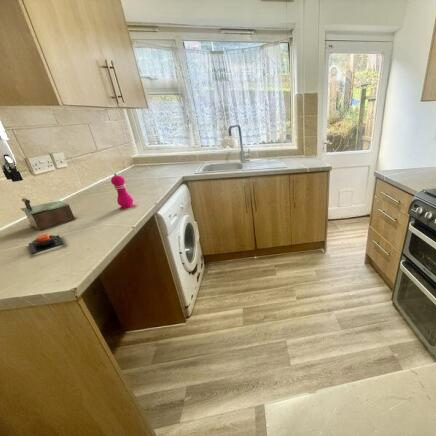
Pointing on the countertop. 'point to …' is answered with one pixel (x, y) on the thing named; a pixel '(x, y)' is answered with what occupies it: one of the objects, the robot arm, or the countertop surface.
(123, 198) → the pepper mill
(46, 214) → the brown open box
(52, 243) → the lock base
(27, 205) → the frame lid
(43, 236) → the lock button
